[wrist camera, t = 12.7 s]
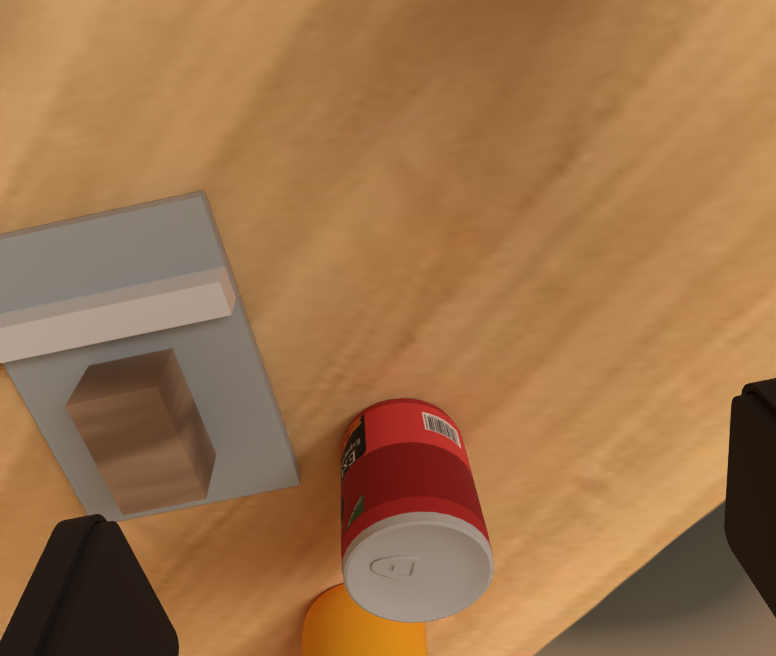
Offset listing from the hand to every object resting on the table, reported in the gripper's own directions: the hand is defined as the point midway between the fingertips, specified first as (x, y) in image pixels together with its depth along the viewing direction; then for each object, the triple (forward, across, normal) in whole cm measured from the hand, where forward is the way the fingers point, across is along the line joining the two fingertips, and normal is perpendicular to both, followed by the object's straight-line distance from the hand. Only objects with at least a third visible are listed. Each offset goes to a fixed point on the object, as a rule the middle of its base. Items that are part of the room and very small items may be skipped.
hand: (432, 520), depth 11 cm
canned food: (+28, +2, +21) cm, 35 cm away
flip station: (+28, +16, +12) cm, 35 cm away
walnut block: (+25, +16, +10) cm, 32 cm away
